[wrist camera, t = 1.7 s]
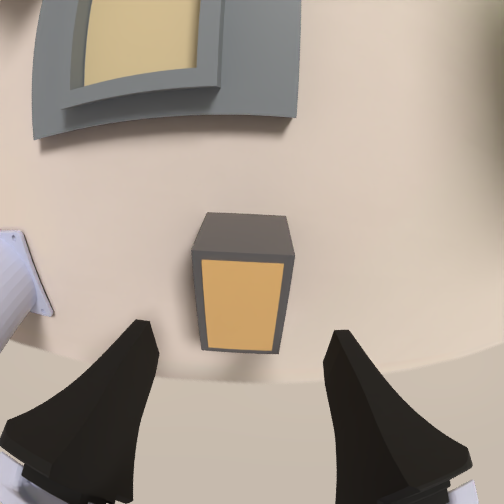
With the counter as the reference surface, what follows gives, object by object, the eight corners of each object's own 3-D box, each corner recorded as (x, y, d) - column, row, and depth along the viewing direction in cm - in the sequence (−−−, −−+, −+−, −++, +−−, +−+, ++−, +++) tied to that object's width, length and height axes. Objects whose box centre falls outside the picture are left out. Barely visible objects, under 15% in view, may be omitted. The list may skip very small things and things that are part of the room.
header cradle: (44, 136, 11) (20, 145, 9) (60, -29, 5) (41, -36, 3) (293, 116, 11) (300, 119, 9) (297, -72, 5) (303, -92, 3)
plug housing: (211, 301, 17) (201, 351, 13) (207, 211, 14) (190, 251, 10) (275, 304, 17) (278, 355, 13) (285, 215, 14) (295, 256, 10)
